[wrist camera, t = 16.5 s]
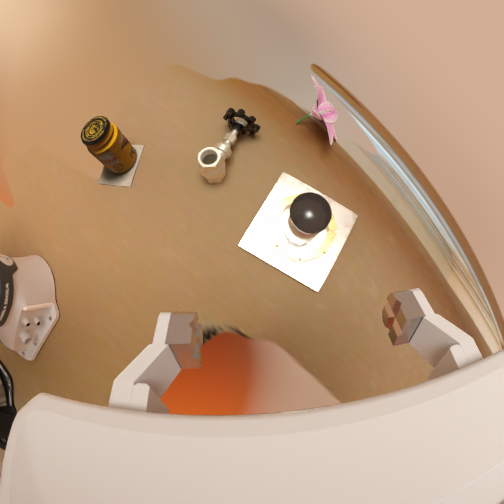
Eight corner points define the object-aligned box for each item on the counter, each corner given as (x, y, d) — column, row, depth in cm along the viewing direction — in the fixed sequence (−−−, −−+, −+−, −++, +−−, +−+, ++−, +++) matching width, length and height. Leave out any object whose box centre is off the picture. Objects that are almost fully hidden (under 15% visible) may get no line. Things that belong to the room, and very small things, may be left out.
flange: (316, 292, 42) (321, 292, 39) (238, 246, 43) (237, 242, 40) (355, 217, 44) (363, 211, 40) (282, 174, 45) (284, 165, 41)
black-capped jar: (307, 252, 42) (320, 241, 33) (277, 236, 42) (282, 219, 33) (322, 223, 42) (338, 205, 33) (293, 207, 43) (301, 185, 34)
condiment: (144, 145, 46) (118, 110, 34) (130, 187, 45) (98, 158, 33) (113, 144, 46) (84, 112, 35) (99, 184, 45) (64, 158, 33)
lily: (316, 167, 46) (355, 143, 38) (264, 122, 43) (299, 89, 34) (332, 132, 51) (366, 109, 43) (289, 93, 48) (320, 64, 39)
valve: (226, 193, 45) (260, 137, 46) (221, 177, 38) (260, 116, 39) (192, 176, 45) (227, 123, 47) (182, 159, 39) (224, 102, 40)
